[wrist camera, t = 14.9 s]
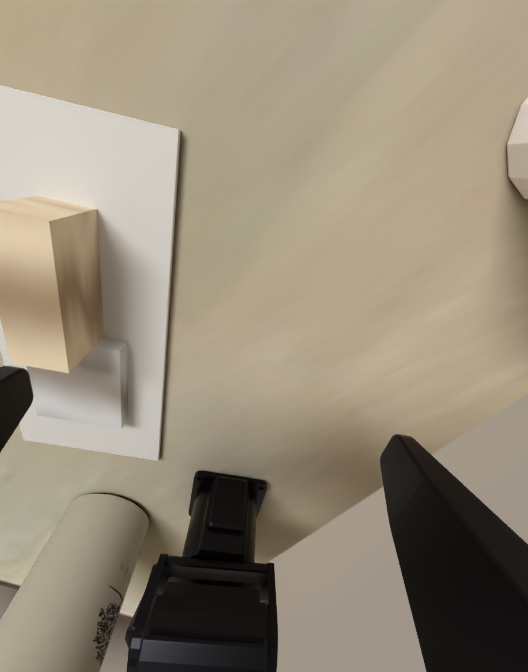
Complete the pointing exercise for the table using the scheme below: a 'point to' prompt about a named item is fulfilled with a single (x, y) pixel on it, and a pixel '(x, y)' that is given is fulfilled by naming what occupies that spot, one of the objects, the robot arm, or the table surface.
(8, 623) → the travel mug
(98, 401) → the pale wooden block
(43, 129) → the mat
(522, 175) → the white cup
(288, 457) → the table surface
